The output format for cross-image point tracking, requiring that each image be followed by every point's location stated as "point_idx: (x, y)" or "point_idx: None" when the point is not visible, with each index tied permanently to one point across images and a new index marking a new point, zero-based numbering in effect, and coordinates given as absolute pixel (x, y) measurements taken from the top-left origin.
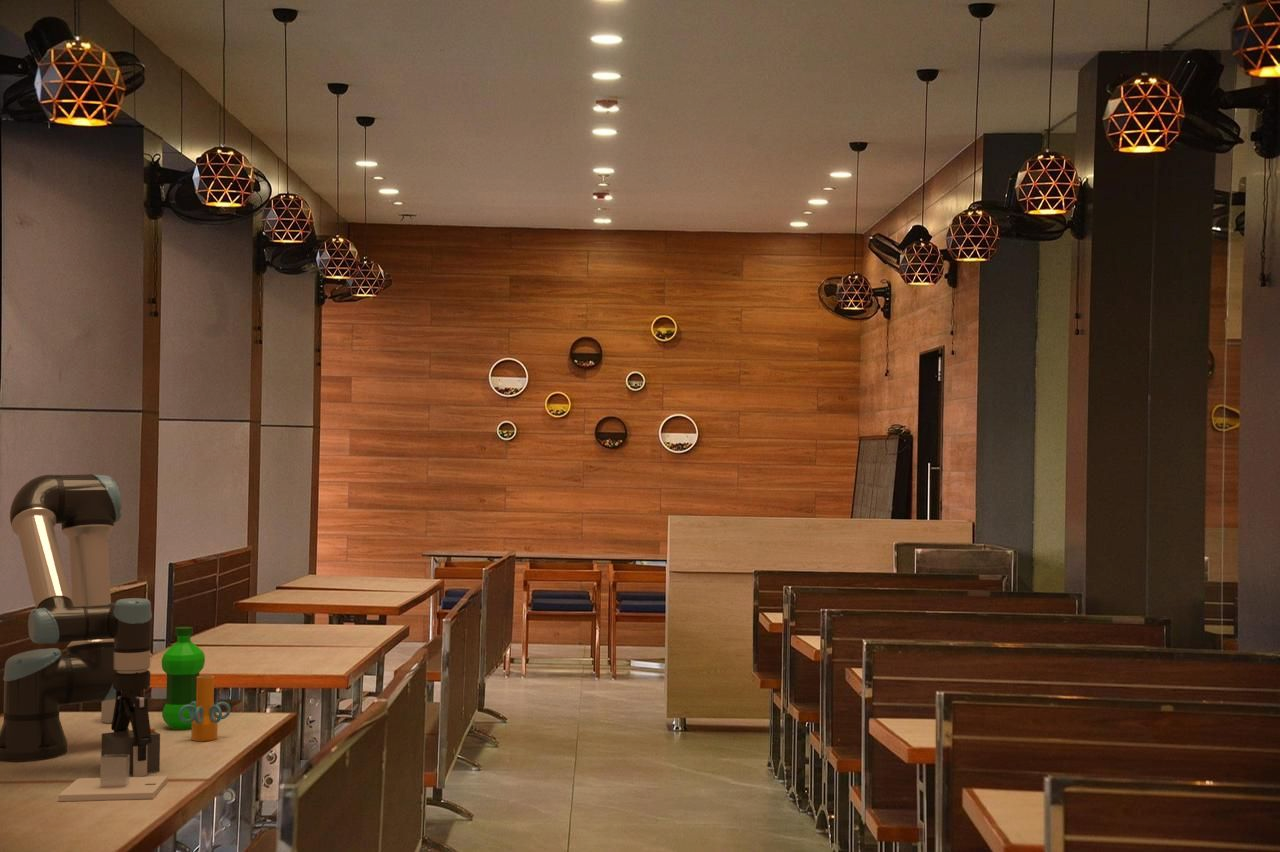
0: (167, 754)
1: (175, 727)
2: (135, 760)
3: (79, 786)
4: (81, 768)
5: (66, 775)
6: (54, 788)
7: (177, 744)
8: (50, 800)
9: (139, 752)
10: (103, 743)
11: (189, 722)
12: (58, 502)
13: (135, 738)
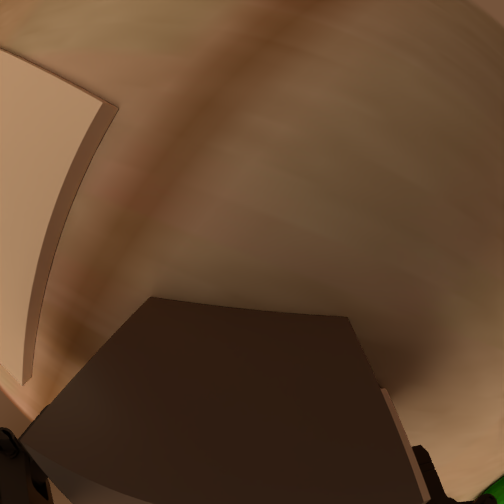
0: None
1: (501, 480)
2: None
3: (1, 99)
4: (459, 259)
5: (373, 128)
6: (125, 16)
7: None
8: (16, 25)
9: (31, 425)
10: (343, 443)
11: None
12: None
13: (9, 473)
